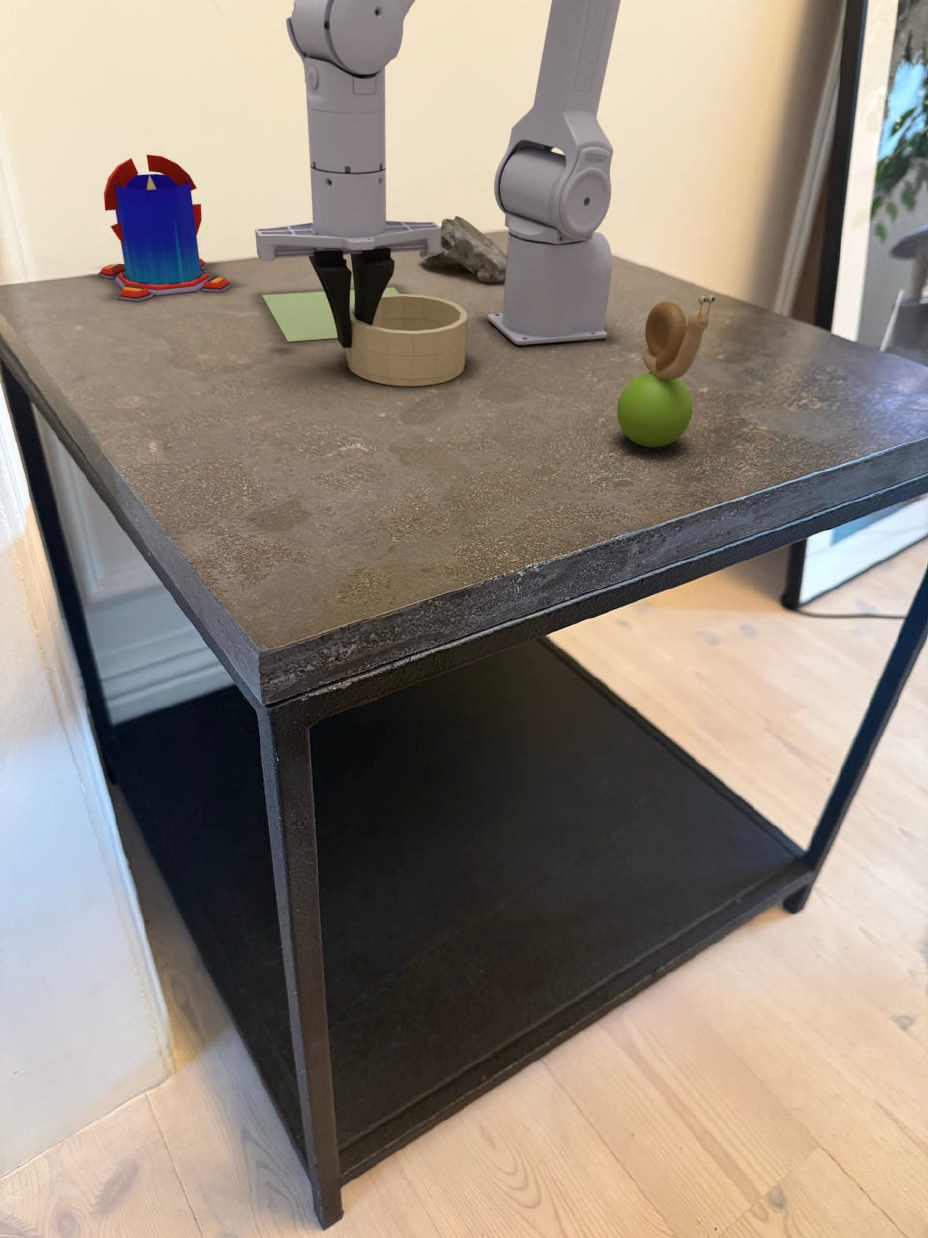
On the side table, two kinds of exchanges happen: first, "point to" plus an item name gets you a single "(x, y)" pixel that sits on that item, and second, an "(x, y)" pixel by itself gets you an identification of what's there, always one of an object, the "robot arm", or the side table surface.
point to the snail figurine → (663, 376)
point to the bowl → (409, 341)
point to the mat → (306, 314)
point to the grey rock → (468, 251)
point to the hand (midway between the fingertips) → (353, 343)
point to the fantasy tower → (156, 232)
